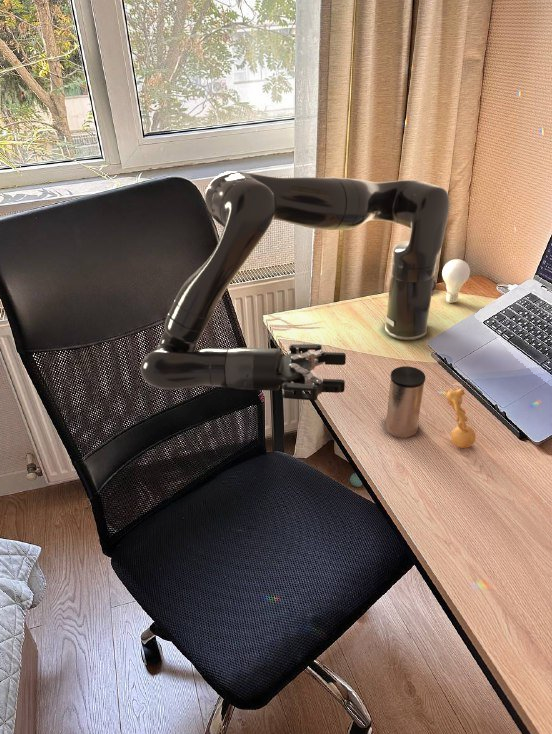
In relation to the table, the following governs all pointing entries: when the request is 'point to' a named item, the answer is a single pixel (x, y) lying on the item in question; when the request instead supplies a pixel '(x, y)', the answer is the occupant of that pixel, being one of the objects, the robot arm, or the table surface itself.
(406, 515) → the table surface
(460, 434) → the figurine
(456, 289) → the lightbulb
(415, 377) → the canister
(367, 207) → the robot arm
